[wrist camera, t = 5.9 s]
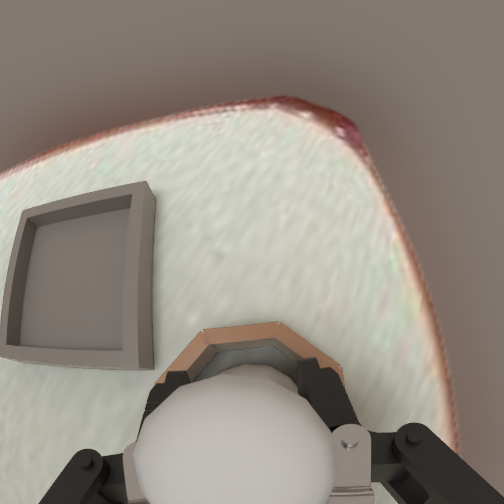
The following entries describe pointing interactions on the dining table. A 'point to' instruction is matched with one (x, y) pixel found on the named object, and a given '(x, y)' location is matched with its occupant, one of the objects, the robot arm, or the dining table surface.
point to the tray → (83, 282)
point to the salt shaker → (236, 443)
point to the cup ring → (245, 347)
